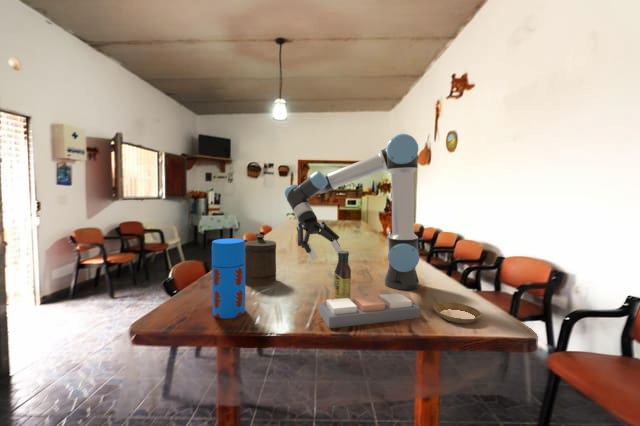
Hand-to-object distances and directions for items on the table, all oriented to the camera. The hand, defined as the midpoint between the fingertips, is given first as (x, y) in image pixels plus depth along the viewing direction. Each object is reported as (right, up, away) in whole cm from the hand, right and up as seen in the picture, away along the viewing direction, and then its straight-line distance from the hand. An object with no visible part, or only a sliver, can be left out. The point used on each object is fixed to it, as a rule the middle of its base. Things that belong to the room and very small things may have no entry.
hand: (328, 256), depth 120 cm
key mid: (+13, -15, -15) cm, 25 cm away
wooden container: (-31, -15, +22) cm, 41 cm away
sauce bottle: (+5, -17, -4) cm, 18 cm away
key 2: (+23, -15, -13) cm, 30 cm away
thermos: (-35, -18, -14) cm, 41 cm away
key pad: (+13, -18, -15) cm, 27 cm away
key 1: (+4, -15, -18) cm, 24 cm away
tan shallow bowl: (+43, -19, -15) cm, 50 cm away
